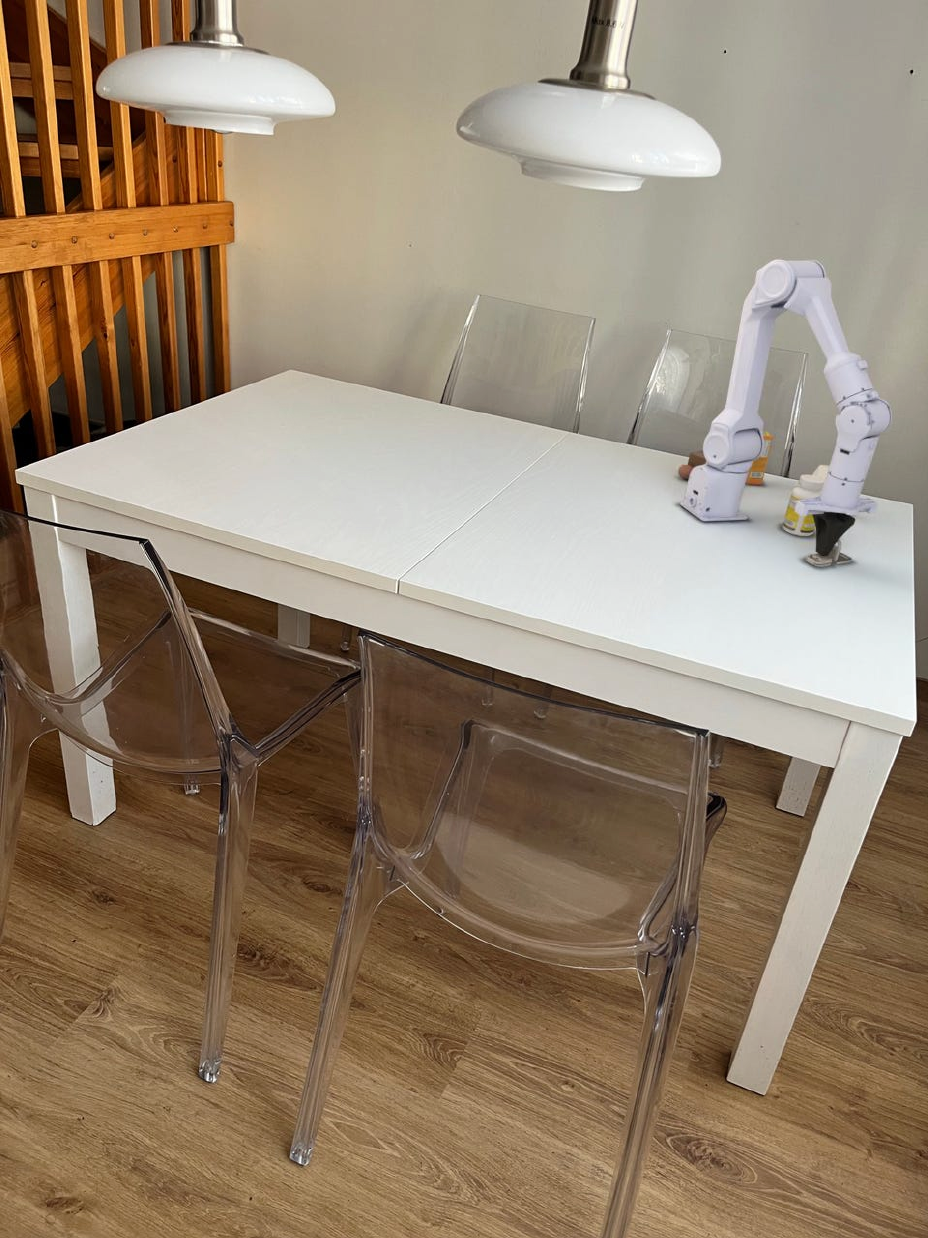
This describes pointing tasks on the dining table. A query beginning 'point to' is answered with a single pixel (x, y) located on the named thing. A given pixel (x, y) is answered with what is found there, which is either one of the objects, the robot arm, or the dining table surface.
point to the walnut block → (696, 459)
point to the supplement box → (760, 463)
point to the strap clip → (828, 557)
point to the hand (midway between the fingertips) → (821, 553)
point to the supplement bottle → (805, 490)
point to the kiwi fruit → (685, 471)
